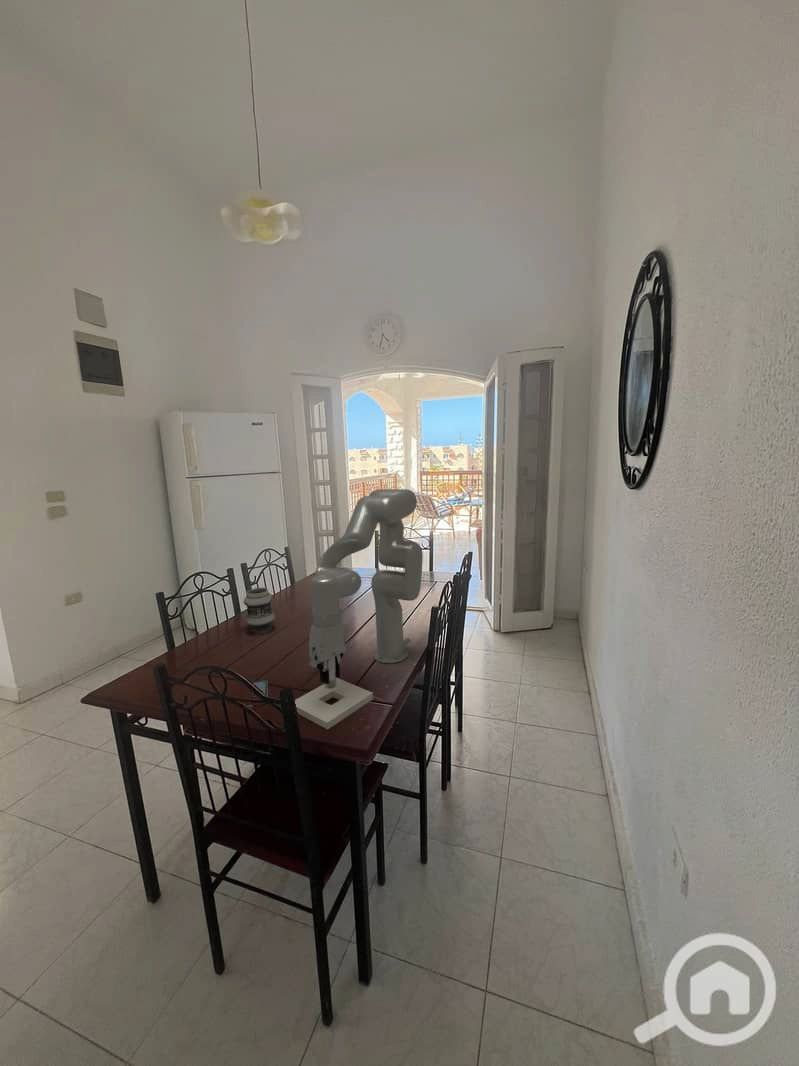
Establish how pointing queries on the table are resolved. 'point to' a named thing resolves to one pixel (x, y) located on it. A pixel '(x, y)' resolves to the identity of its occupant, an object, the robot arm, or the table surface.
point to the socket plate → (328, 714)
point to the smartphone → (261, 687)
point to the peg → (331, 673)
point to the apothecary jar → (259, 610)
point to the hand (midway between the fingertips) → (330, 678)
